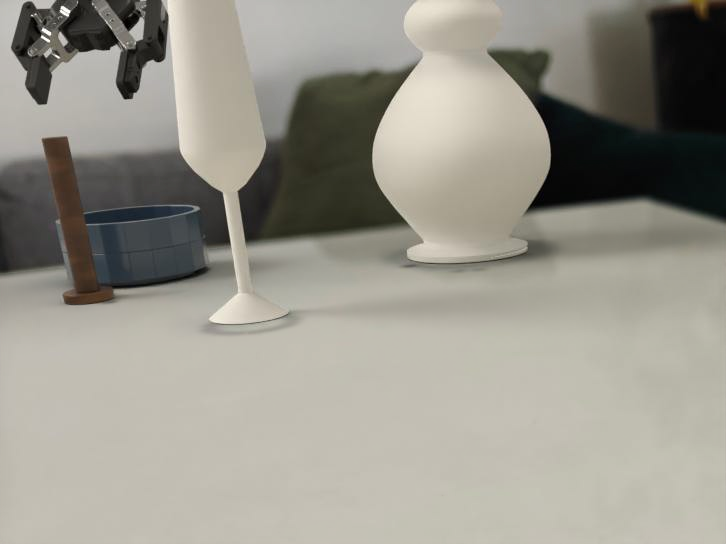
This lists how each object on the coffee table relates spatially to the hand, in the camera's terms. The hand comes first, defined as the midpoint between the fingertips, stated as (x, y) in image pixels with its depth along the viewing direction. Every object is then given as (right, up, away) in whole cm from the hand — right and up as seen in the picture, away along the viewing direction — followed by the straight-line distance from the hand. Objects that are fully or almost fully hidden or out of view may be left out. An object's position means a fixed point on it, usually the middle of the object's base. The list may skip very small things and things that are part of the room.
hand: (80, 95), depth 104 cm
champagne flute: (+18, -23, -10) cm, 31 cm away
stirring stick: (0, -18, +2) cm, 19 cm away
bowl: (+2, -13, +12) cm, 18 cm away
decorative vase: (+36, -10, +12) cm, 39 cm away
